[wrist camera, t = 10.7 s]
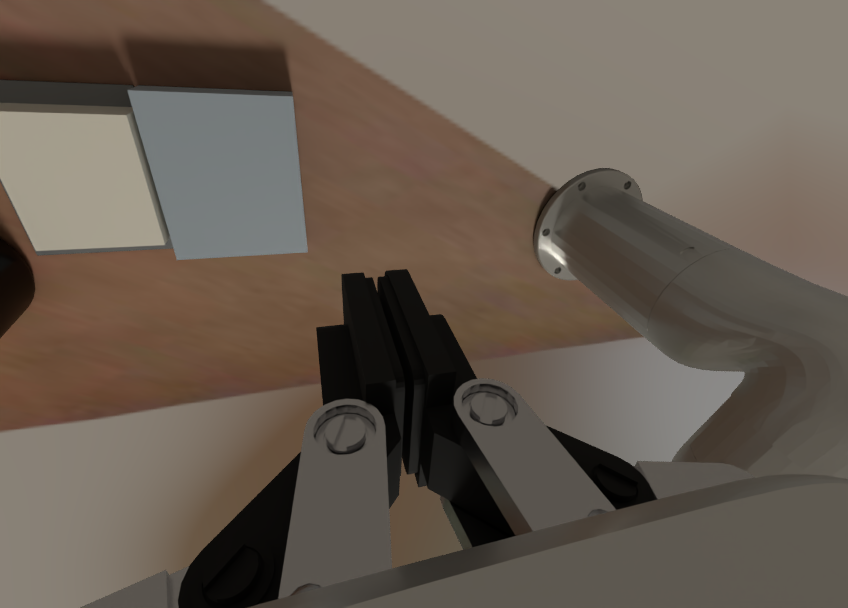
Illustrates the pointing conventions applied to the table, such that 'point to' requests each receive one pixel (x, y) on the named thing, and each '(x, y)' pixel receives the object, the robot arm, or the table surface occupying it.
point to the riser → (224, 169)
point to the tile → (79, 176)
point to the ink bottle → (13, 286)
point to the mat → (70, 96)
